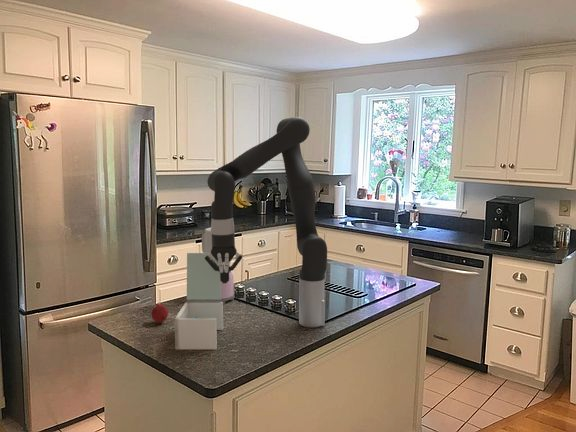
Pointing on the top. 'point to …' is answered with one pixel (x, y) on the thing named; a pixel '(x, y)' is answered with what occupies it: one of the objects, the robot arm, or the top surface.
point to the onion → (159, 313)
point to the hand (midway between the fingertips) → (224, 282)
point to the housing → (198, 325)
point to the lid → (202, 279)
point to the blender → (228, 287)
